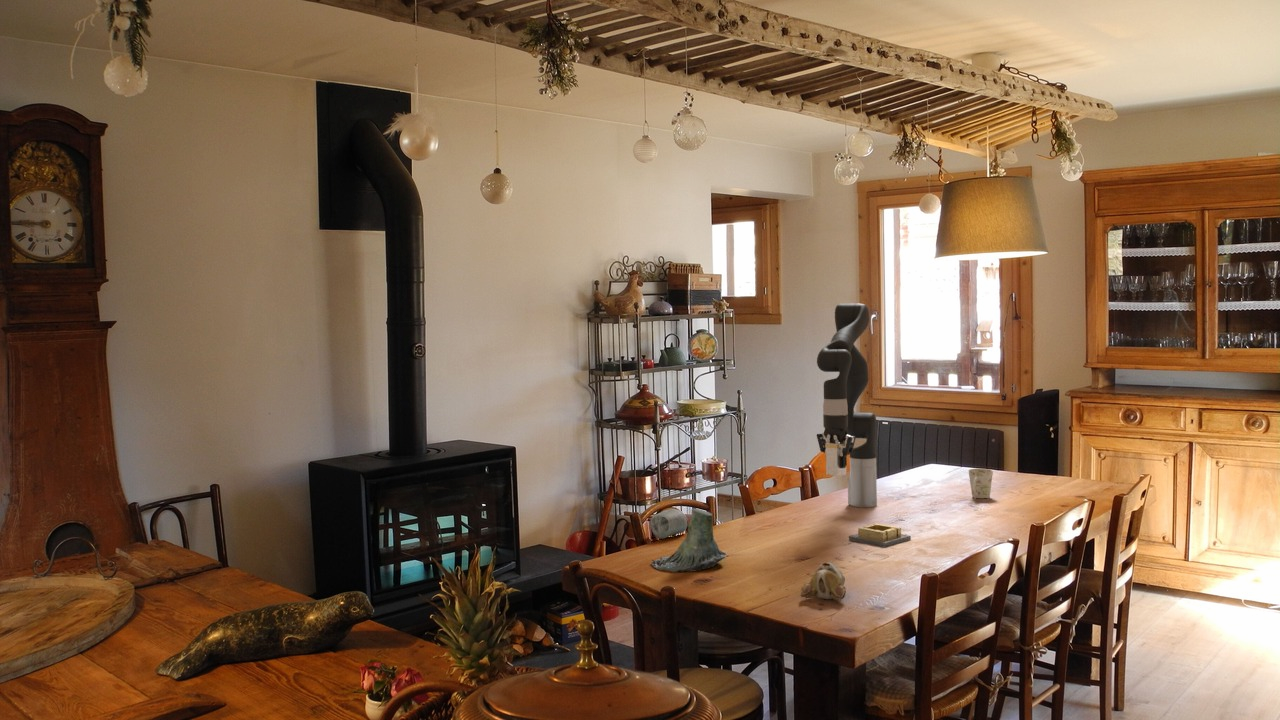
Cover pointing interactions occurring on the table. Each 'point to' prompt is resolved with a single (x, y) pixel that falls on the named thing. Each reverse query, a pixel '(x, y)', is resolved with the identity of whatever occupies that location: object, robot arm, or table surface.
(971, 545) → the table surface
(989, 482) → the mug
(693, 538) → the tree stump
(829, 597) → the ceramic sculpture
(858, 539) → the fitting socket
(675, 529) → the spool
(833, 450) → the white upright block
